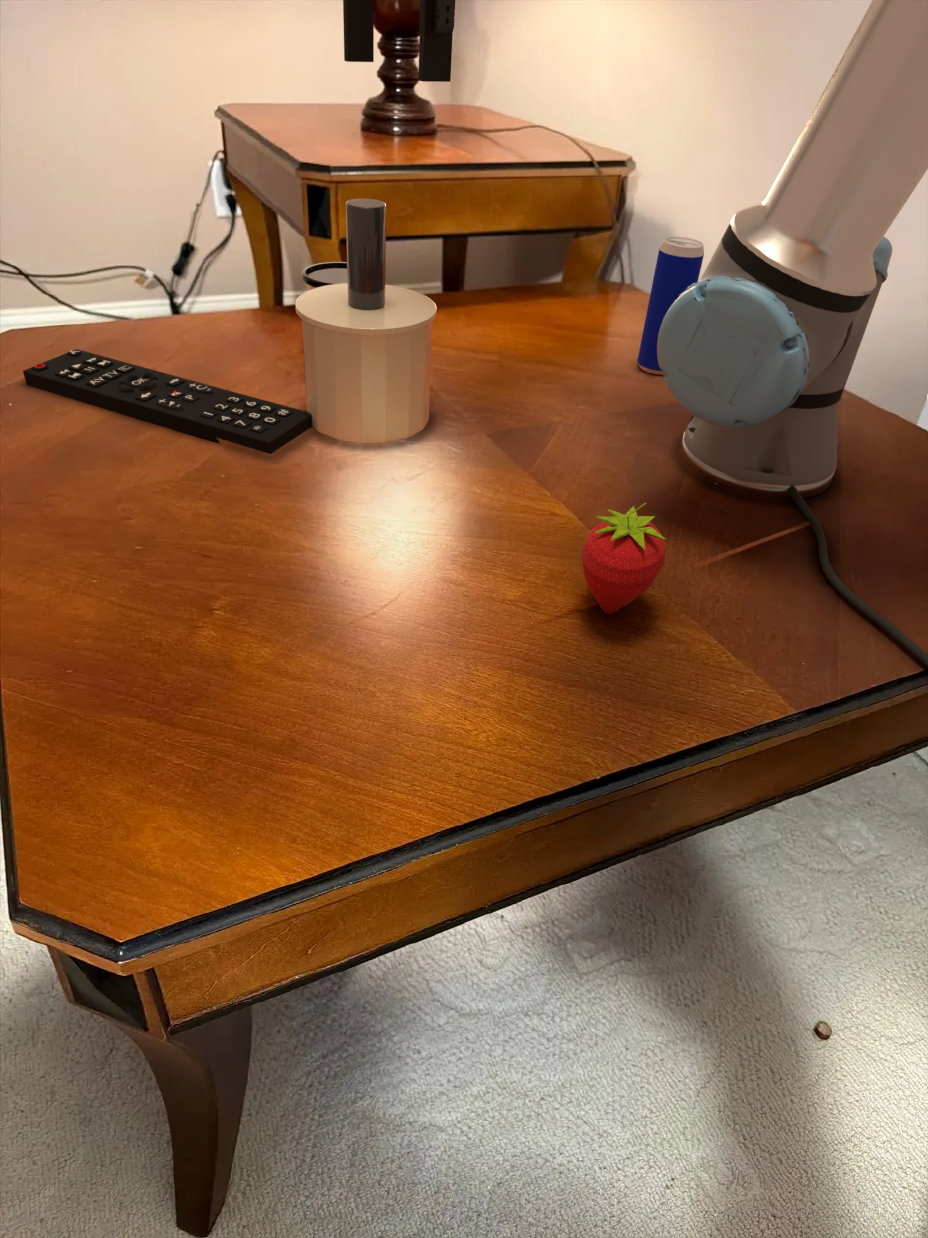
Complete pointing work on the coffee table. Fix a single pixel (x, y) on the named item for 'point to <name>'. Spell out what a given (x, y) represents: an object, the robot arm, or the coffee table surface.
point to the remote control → (170, 400)
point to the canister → (367, 383)
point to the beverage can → (668, 291)
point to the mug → (325, 274)
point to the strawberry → (622, 558)
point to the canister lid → (365, 284)
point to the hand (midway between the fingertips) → (394, 71)
